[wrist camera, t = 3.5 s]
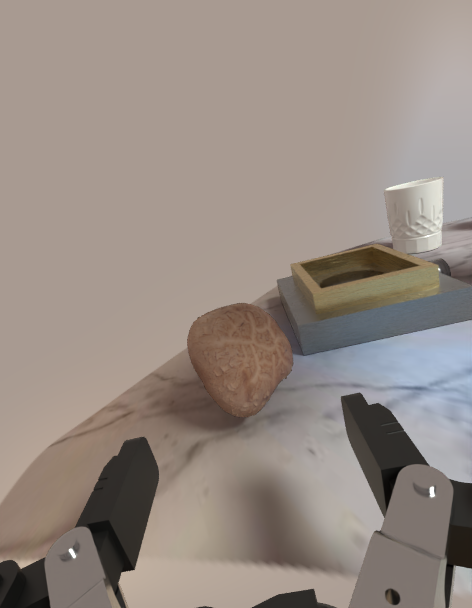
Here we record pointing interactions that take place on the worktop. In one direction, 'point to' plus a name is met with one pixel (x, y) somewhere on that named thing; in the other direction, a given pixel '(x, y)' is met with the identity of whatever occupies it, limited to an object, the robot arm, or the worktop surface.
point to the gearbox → (369, 297)
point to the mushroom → (239, 356)
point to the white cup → (415, 215)
